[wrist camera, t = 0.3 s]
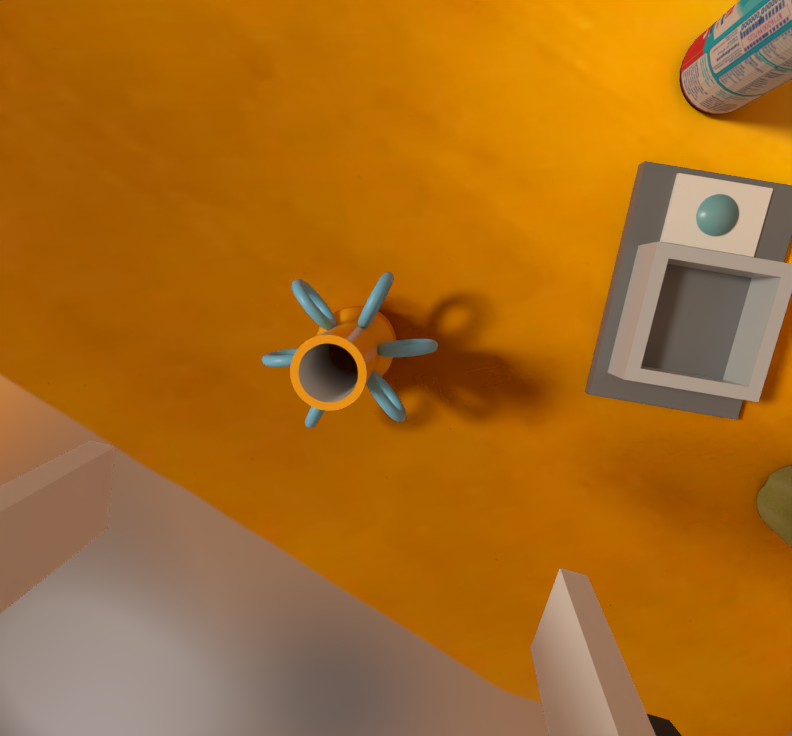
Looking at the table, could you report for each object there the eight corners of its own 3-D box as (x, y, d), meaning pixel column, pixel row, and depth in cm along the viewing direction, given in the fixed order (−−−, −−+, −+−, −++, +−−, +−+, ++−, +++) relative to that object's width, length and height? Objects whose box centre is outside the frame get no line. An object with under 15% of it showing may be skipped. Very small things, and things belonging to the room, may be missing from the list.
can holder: (639, 164, 37) (665, 149, 33) (795, 190, 37) (840, 178, 33) (585, 391, 40) (603, 403, 36) (729, 416, 40) (764, 430, 36)
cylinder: (429, 270, 39) (438, 259, 24) (438, 397, 40) (452, 459, 26) (280, 284, 39) (198, 281, 24) (295, 407, 41) (227, 475, 26)
